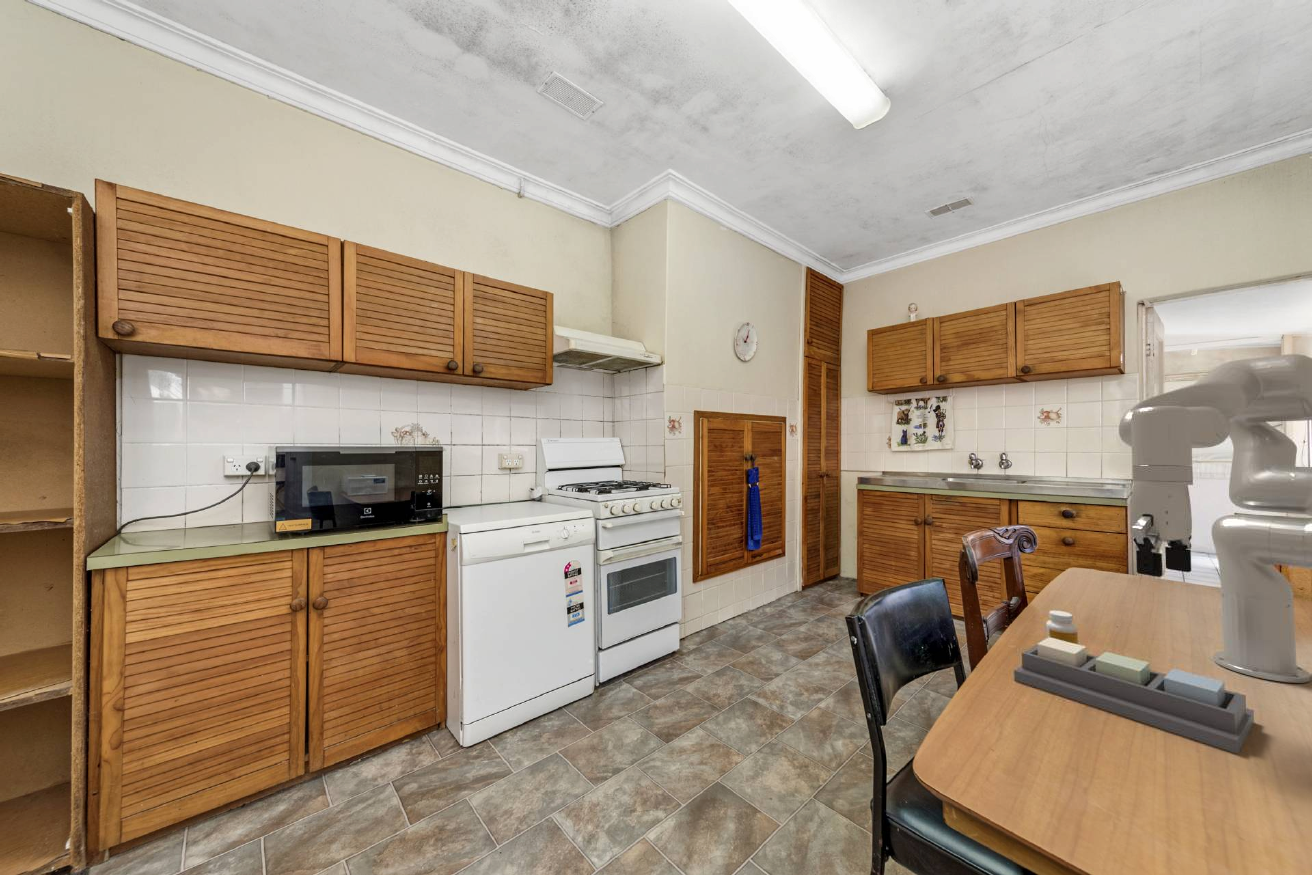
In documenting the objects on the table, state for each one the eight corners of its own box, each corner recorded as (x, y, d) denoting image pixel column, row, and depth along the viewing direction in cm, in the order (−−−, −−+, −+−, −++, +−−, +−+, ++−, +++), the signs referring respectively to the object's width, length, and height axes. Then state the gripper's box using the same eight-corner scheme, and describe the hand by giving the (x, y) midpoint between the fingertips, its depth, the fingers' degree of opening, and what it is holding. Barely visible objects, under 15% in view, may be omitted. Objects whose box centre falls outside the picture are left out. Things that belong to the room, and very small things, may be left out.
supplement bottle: (1084, 663, 105) (1082, 618, 105) (1055, 662, 106) (1054, 616, 106) (1068, 653, 110) (1067, 609, 110) (1041, 651, 111) (1040, 608, 111)
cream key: (1049, 651, 102) (1049, 637, 102) (1086, 661, 97) (1086, 646, 97) (1037, 658, 99) (1037, 643, 99) (1075, 669, 94) (1075, 653, 94)
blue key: (1173, 685, 87) (1172, 668, 87) (1225, 699, 82) (1224, 681, 82) (1164, 695, 83) (1163, 677, 84) (1217, 710, 78) (1217, 691, 79)
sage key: (1106, 667, 94) (1106, 651, 94) (1150, 679, 89) (1149, 662, 89) (1096, 675, 91) (1095, 659, 91) (1140, 688, 86) (1139, 671, 86)
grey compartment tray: (1044, 661, 106) (1043, 638, 106) (1254, 722, 82) (1252, 692, 82) (1014, 680, 98) (1013, 655, 98) (1237, 754, 74) (1236, 720, 74)
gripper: (1159, 474, 94) (1161, 564, 94) (1108, 475, 87) (1110, 572, 87) (1215, 476, 87) (1218, 573, 87) (1164, 477, 81) (1167, 582, 80)
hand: (1164, 572), depth 87 cm, fingers open, 9 cm apart
